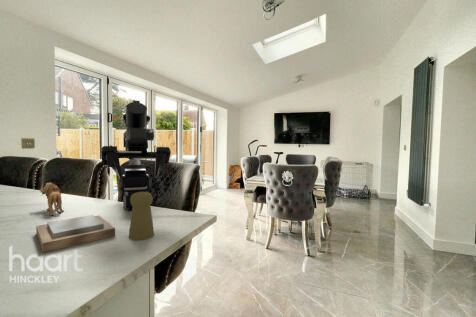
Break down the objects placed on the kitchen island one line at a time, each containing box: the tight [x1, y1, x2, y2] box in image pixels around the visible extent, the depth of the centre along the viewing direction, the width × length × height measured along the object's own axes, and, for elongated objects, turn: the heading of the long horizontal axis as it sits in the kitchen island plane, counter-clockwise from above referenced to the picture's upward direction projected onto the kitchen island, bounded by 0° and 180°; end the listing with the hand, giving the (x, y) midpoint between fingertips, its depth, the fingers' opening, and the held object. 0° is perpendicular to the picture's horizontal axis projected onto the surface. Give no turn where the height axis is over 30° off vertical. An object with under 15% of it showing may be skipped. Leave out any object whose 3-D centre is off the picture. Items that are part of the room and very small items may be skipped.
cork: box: [128, 191, 155, 241], centre depth 60 cm, size 6×6×11 cm
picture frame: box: [35, 214, 116, 253], centre depth 60 cm, size 14×14×3 cm
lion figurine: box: [39, 182, 65, 216], centre depth 79 cm, size 15×5×9 cm, turn 51°
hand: (138, 177), depth 67 cm, fingers open, 9 cm apart
